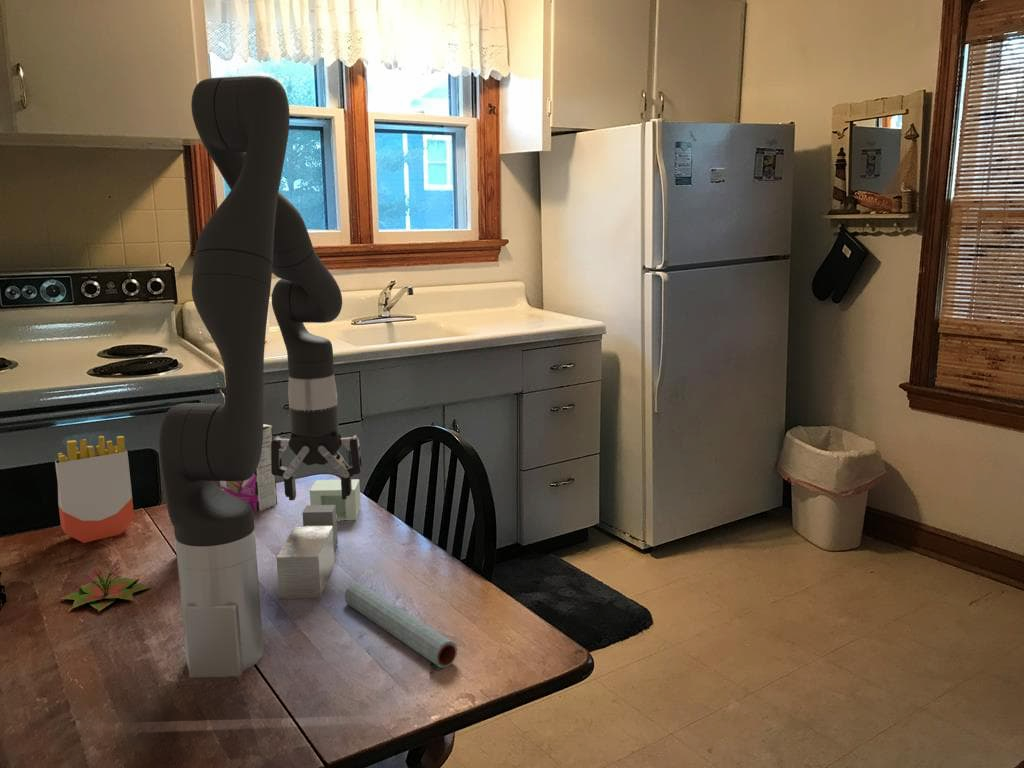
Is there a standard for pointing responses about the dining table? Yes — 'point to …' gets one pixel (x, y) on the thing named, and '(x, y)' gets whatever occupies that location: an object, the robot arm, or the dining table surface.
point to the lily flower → (105, 590)
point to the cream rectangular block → (305, 562)
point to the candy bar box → (257, 480)
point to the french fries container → (94, 490)
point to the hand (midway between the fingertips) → (319, 498)
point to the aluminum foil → (402, 626)
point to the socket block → (337, 497)
